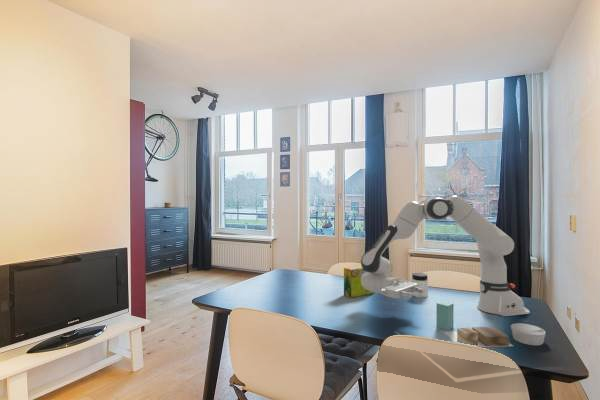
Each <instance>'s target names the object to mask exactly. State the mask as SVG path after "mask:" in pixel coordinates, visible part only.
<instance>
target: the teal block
mask: <svg viewBox="0 0 600 400" xmlns="http://www.w3.org/2000/svg"><path fill="white" fill-rule="evenodd" d="M435 325H436V328H439V329H442V330H446V331H450V330H451V329H453V328H454V302H450V301H445V300H441V301H438V302H436V324H435Z"/></svg>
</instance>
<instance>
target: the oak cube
mask: <svg viewBox="0 0 600 400" xmlns="http://www.w3.org/2000/svg"><path fill="white" fill-rule="evenodd" d="M456 332H457V342H460V343H464V344H470V345H476V346H478V332H476V331H474V330H473V329H472V328H471V327H469V326H467V327H457V328H456Z"/></svg>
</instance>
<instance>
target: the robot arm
mask: <svg viewBox="0 0 600 400" xmlns="http://www.w3.org/2000/svg"><path fill="white" fill-rule="evenodd" d="M447 217H449V218H451V219H452V220H453V222H455V223H456V224H457V225H458V226H459V227H460V228H461V229H462V230H463V231H464V232H466V233H467V234H468V235H469V236H470V237H472V238H473V239H474V240H475V242H476V244H477V248H478V249H477V250H478V255H479V259H480V280H479V292H480V293H479V294H480V295H479V300H478V303H477V305H476V307H477V309H478V310H479V311H482V312H485V313H489V314H494V315H497V316H498V315H499V316H502V317H511V316H512V317H513V316H520V315H529V314H530V313H531V312H530V310H529V309H528V308H527V307H525V305H524V300H523V299H522V298H521V297H520V296H519V295H518V294H516V293H515V292H513V291H512V290H511V288H512V289H515V287H516V285H515V284H514V283H509V282H508V280H507V279H508V278H507V277H508V275H507V273H508V272H507V271H508V270H507V269H508V267H507V264H506V261H505V258H504V256H507V255H509V254H511V253H512V252H513V251H514V248H515V241H514V239H512V237H510V236H509V235H508V234H506V233H505V232H504V231H503V230H502V229H500V228H499V227H498V226H496V225H495V224H494V223H493V222H491V221H490V220H489V219H487V218H486V217H485V216H484V215H483V214H481V213H480V212H479V211H478V210H477V209H476V208H475V207H474V206H473V205H471V204H470V203H469V201H466V199H464V198H462V197H461V196H458V195H456V194H455V195H451V196H449V197H447V198H443V197H431V198H428V199H424V200H423V201H421V202H417V201H412V200H411V201H408V202H407V203H406V204H405V205H404V206H403V207H402V208H401V210H400V211H399V213H398V214H397V216H396V217H395V218H394V221H393V222H392V223H391V224H390V225H388V226H387V227H386V228H384V230H383V231H382V232H381V233H380V235H379V237H377V239H376V240H375V242H374V243H373V244H372V245H371V247H370V248H369V249H368V250H367V251H366V252H364V253H363V254H362V257H361V259H360V264H361V265H360V266H362V268H363V269H364V270H365V271H366V273H364V274H363V275H362V276H361V284H362V286H363V287H364V288H365V289H367V290H369V291H372V292H375V293H374V294H381V295H383V296H386V297H387V298H388V297H389V298H391V299H395V300H396V299H397V300H398V299H400V298H413V297H414V296H413V293H414V292H418V293H423V289H420V288H418V284H417V283H415V282H412V280H407V279H404V278H403V277H391V274H392V271H393V264H392V262H391V260H389V259H388V258H386V257H384V256H383V254H384V252H385V251H386V249H387V248H388V247H389V246H390V245H391V243H392V242H394V241H397V240H406V239H409V238H411V237H412V236H413V234H414V233H415V232H416V231H417V229H418V227H419V225H420V223H421V222H422V221H423V220H430V221H439V220H443V219H445V218H447Z"/></svg>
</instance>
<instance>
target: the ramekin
mask: <svg viewBox="0 0 600 400" xmlns="http://www.w3.org/2000/svg"><path fill="white" fill-rule="evenodd" d="M510 329H511V332H512V333H511V334H512V335H511V336H512V338H513V339H514V340H515V341H516V342H518V343H521V344H525V345H529V346H542V345H543V344H544V342H545V338H546V337H545V336H546V331H545V330H544V329H543V328H541V327H540V326H537V325H533V324H530V323H529V324H528V323H520V322H519V323H512V324H511V325H510Z"/></svg>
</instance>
